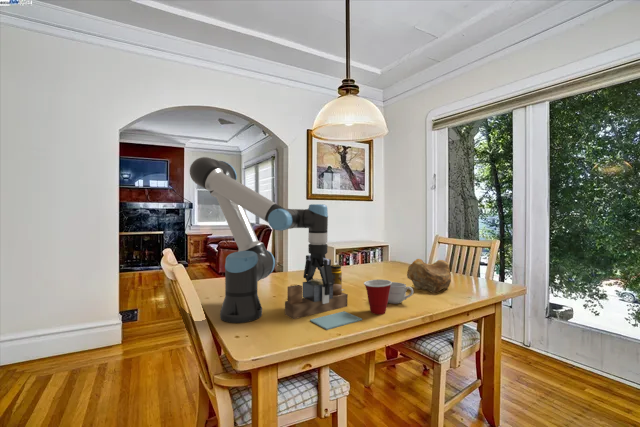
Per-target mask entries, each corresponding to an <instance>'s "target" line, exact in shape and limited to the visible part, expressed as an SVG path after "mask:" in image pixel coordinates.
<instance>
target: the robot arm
mask: <svg viewBox="0 0 640 427" xmlns="http://www.w3.org/2000/svg"><path fill="white" fill-rule="evenodd" d="M189 176H190V178H191V180H192V181H193V182H194V183H195V184H196V185H198V186H200V187H201V188H203V189H205V190H207V191H209V193H210V195H211V197H214V198H216V201H217V203H218V204H219V206H220V209H221V211H222V214H223V216H224V218H225V221H226V223H227V225H228V227H229V230H230V233H231V234H232V236H233V240H234V241H235V243H236V246H237V248H238V251H235V252H231V253H229V254H228V255H227V256H226V257H225V263H224V269H225V270H224V272H225V273H224V275H225V276H224V277H225V279H224V281H225V282H224V284H225V285H224V286H225V290H224V291H225V293H224V294H225V295H224V299H223V302H222V306H221V309H220V314H219V316H220V318H219V319H220V320H222V321H224V322H226V323H233V324H235V323H236V324H237V323H239V324H240V323H248V322H252V321H255V320H257V319H260V318H261V317H262V316H263V308H262V304H261V301H260V299H259V295H258V282H260V281H261V280H264V279H266V278H268V276H270V275H271V274H272V273H273V271H274V269H275V267H276V259H275V257H274V255H273V253H272V252H271V251H269V250H267V249H266V246H265V243H264V242H261V241H259V240H258V237H257V235H256V233H255V230H254V228H253V226H252V223H251V221H250V219H249V217H248V214H247V212H246V211H248V212H249V213H251V214H253V215H254V216H257V217H258V218H259V219H262V220H263V221H265V222H266V223H267V224H269V226H270V228H272V229H273V230H276V231H280V232H281V231H286V230H291V229H308V240H307V242H308V243H309V244H308V248H307V251H308V254H307V255H305V265H304V271H303V278H304V279H305V282H307V281H311V279H314V275H315V274H316V270H318V272H319V273H320V277H321V279H322V281H323V286H322V304H325V303H329V294H330V286H332V285H334V283H333V276H332V270H331V265H332V259H331V258H326V255H327V253H328V246H329V245H328V244H327V243H328V225H329V224H328V223H329V222H328V220H329V215H328V206H327V205H326V204H313V203H312V204H309V205H308V208H307V209H303V208H301V209H300V208H299V209H298V208H285V207H283V206H282V205H279V204H277V202H274V201H273V200H271V199H269V198H267V197H266V196H264V195H262V194H260V193H259V192H257V191H255V190H253V189H251V188H250V187H248V186H246V185H244V184H242V183H241V182H239V181H238V180H237V179H238V174H237V171H236V169H235V167H234V166H232V165H231V164H229V162H226V161H224V160H217V159H214V158H211V157H208V156H202V157H199V158H196V159H195V160H194V161H193V162H191V165H190V167H189Z"/></svg>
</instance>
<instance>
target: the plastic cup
mask: <svg viewBox="0 0 640 427" xmlns="http://www.w3.org/2000/svg"><path fill="white" fill-rule="evenodd" d="M392 282H393V281H391V280H388V279H370V280H366V281H364V282H363V285H364V287H365V290H366V293H367V300H368V306H369V310H370V313H371V314H374V315H384V314H386V312H387V307H388V304H389V303H388V297H389V291H390V286H391V284H392Z"/></svg>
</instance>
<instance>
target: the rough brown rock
mask: <svg viewBox="0 0 640 427" xmlns="http://www.w3.org/2000/svg"><path fill="white" fill-rule="evenodd" d="M450 270H451V269H450V264H449V263H448V262H447V261H445V260H443V259H438V260H436V261H435V262H433V263H426V262H425V261H424V260H423V259H421V258H416V259H415V260H414V261H412V263H411V264H410V265H408V268H407V272H406V277H407V279H409V280H410V281H411V282H412V284H413V287H414V288H415V289H418V290H420V289H422V290H424V291H427V290H428V291H429V292H430V293H432V294H434V293H437V292H440V291H441V290H442V289H443V290H447V289H448V288H449V287H450V285H451V282H452V275H451V271H450Z"/></svg>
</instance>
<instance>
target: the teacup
mask: <svg viewBox="0 0 640 427" xmlns="http://www.w3.org/2000/svg"><path fill="white" fill-rule="evenodd" d="M391 282H392V284H391V286H390V291H389V297H388V303H387V304H401V303H402V302H403V301H405V300H407V299H408V298H410V297H411V296H413V294H414V289H413V287H411V286H407V284H405V283H402V282H396V281H391ZM407 290H410V293H409V294H407Z"/></svg>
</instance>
